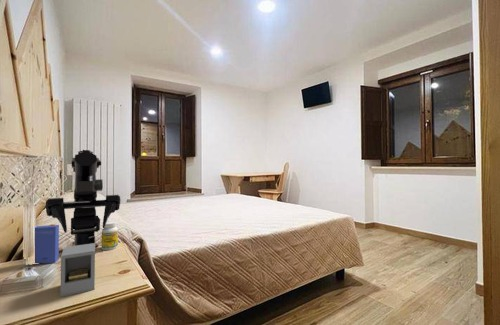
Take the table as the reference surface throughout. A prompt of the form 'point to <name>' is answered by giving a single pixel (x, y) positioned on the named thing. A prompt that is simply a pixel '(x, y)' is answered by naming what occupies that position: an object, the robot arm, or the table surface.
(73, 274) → the brass cube
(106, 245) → the supplement bottle
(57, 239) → the walkman
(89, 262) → the grey hollow block
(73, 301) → the table surface
